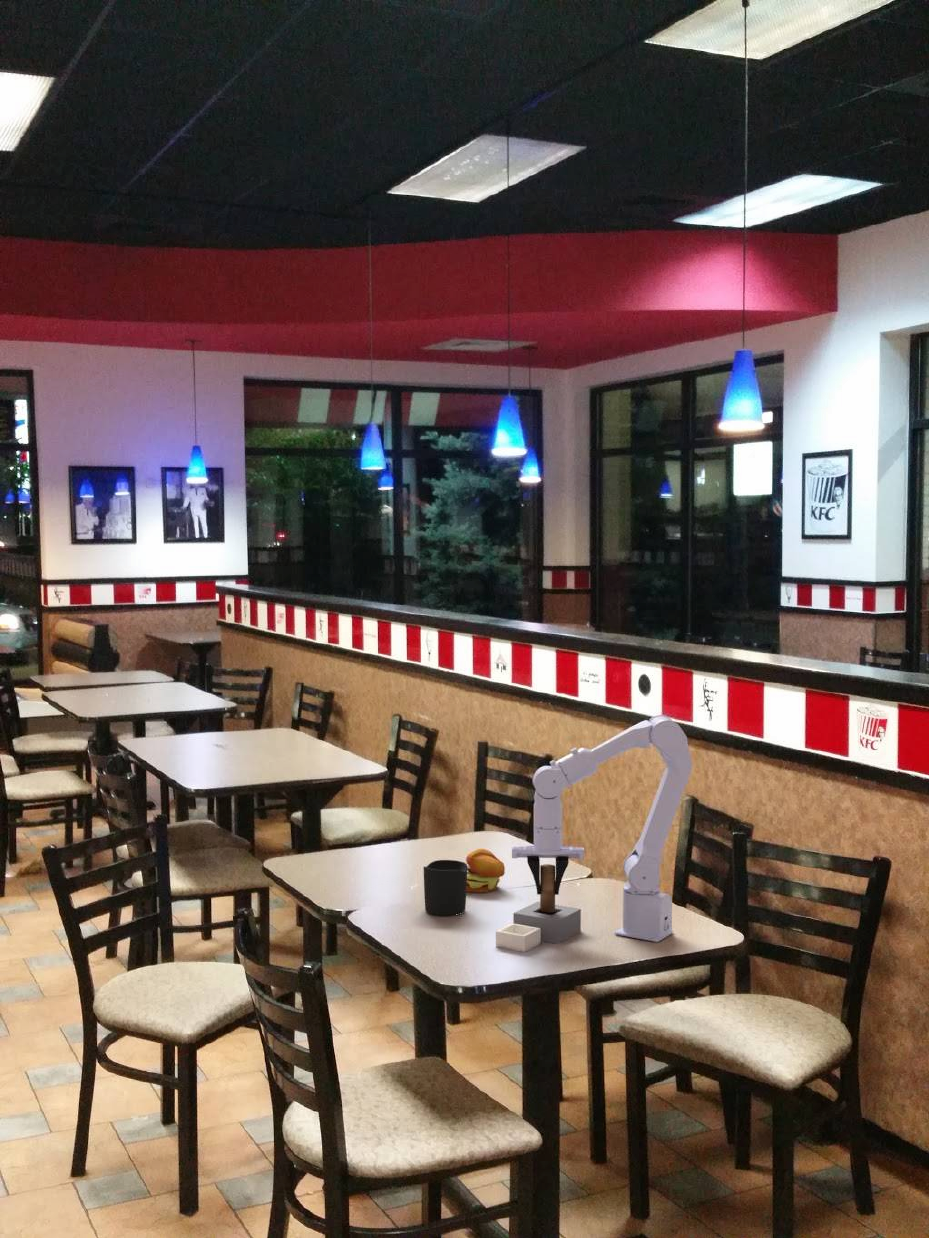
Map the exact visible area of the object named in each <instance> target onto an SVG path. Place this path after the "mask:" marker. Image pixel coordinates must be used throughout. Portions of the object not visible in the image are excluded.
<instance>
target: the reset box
mask: <svg viewBox="0 0 929 1238" xmlns="http://www.w3.org/2000/svg"><path fill="white" fill-rule="evenodd" d="M512 915H513V916H512V917H513V922H512V923H514V924H519V925H525V926H530V927H536V928H541V941H543V942H547V943H548V942H549V943H553V944H559V943H561V942H563V941H565V940H566V939H569V938H570V937H573V936H574V935H576V934H577V933H579V932H581V929H582V927H581V926H582V924H581V923H582V922H581V919H582V916H581V915H582V908H577V907H571V906H567V905H559V904H555V911H554V912H542V911H540V901H536V902H534V903H532V904H530V905H528V906H526V907H523V908H522V909H518V910H517V911H514V912H513V914H512Z"/></svg>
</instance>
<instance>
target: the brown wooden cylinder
mask: <svg viewBox="0 0 929 1238" xmlns="http://www.w3.org/2000/svg"><path fill="white" fill-rule="evenodd" d="M555 879H556V864H555V865H554V864H549V863H547V864H545V863H544V864H540V889H541V895H539V896H540V897H539V898H540V899H539V902H540V911H542V912H554V911H555V905H556V895H555Z"/></svg>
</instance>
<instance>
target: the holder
mask: <svg viewBox="0 0 929 1238" xmlns="http://www.w3.org/2000/svg"><path fill="white" fill-rule="evenodd" d="M541 941H542V940H541V928H536V927H530V926H525V925H519V924H514V923H513V922H512V923H510V924H507V925H506V926H503V927H502V928H500V929H497V930H496V931H495V947H498V948H501V949H507V950H513V951H517V952H522V953H525V952H527V951H529V950H532V949H533V948H535V947H536V946H539V945H540V944H541Z"/></svg>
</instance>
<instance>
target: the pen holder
mask: <svg viewBox="0 0 929 1238" xmlns="http://www.w3.org/2000/svg"><path fill="white" fill-rule="evenodd" d="M467 866H468V864H467V862H464V861H460V860H453V859H438V860H434V861H432V862H430V863H429V864H428V865H426V866H423V886H424V887H423V888H424V889H423V892H424V909H425V911H426V913H427V912H428V913H427V914H429V915H431V914H432V916H435V915H437V917H452V916H453V915H455V916H457V915H456V914H459V915H461V914H460V913H462V912H463V913H464V912H465V911H466V903H467V902H466V901H467V891H466V888H467ZM463 913H462V914H463ZM453 917H454V916H453Z"/></svg>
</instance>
